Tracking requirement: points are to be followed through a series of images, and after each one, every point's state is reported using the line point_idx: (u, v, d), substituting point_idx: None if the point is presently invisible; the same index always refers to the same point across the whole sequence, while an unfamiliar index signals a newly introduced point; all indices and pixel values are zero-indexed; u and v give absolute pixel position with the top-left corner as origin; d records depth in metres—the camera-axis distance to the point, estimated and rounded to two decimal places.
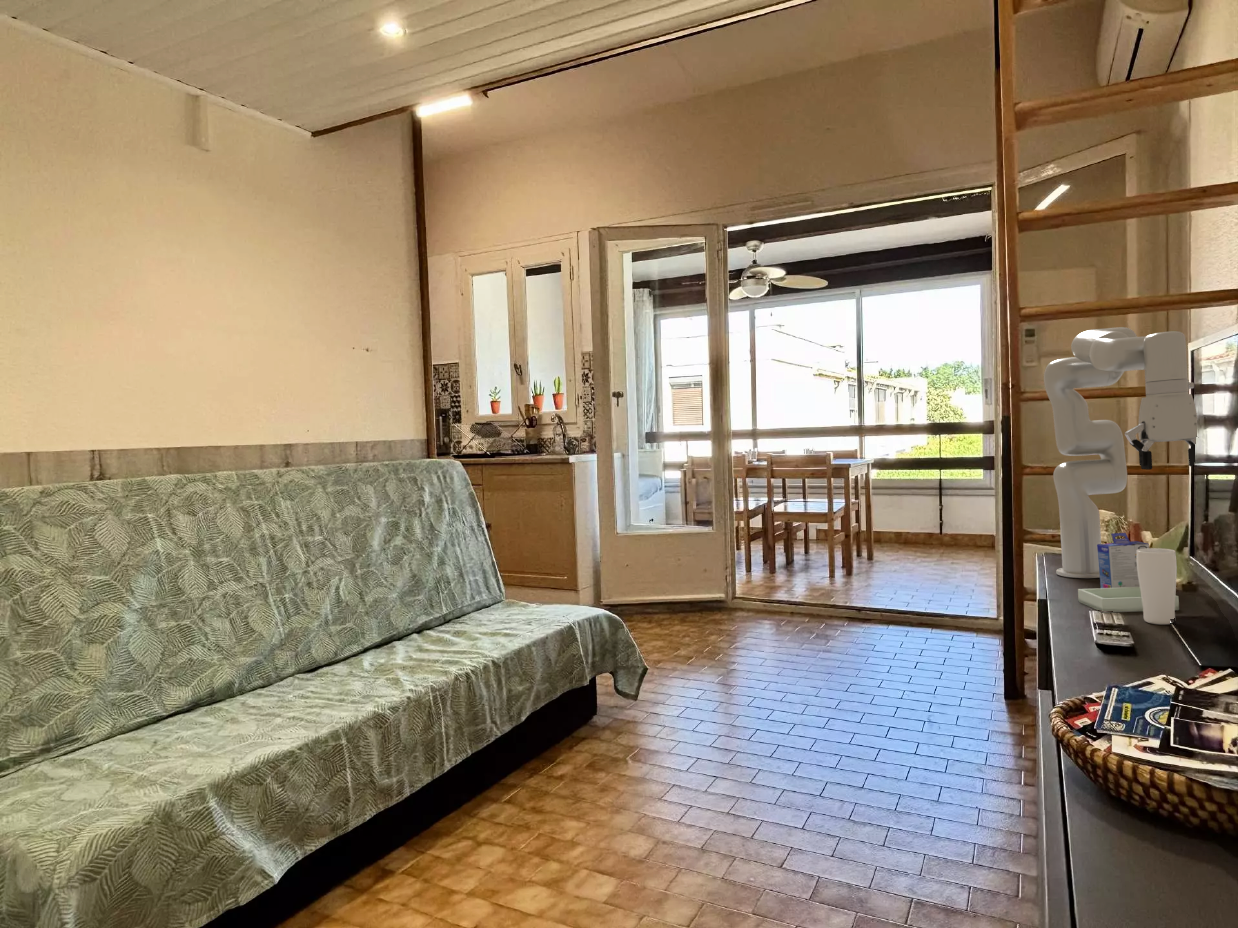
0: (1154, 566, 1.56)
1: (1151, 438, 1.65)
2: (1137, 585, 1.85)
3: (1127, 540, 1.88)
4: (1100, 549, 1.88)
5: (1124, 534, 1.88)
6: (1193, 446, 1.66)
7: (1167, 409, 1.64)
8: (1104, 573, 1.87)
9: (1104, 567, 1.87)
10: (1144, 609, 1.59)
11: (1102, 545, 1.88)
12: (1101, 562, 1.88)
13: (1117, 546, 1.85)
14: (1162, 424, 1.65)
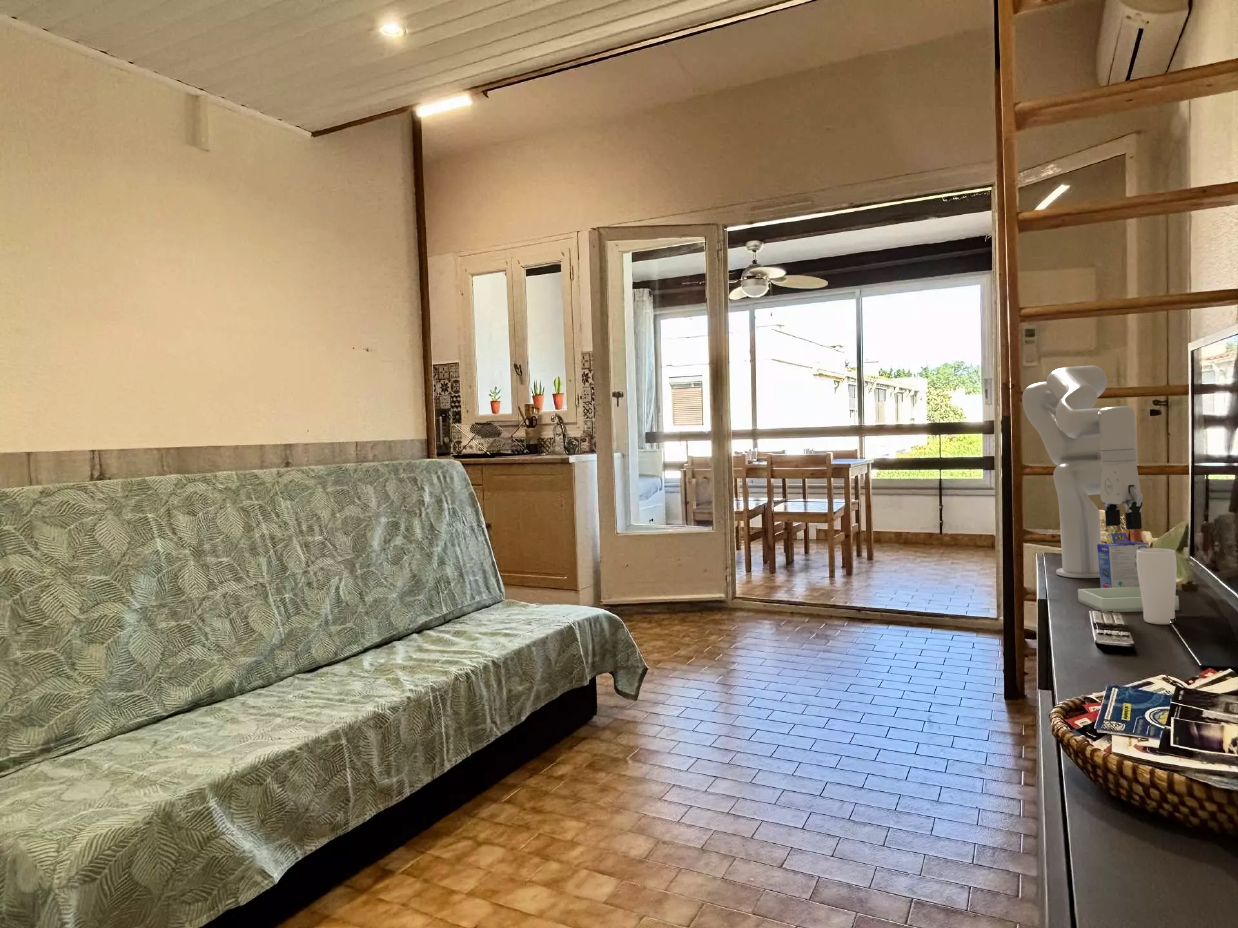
0: (1154, 566, 1.56)
1: None
2: (1137, 585, 1.85)
3: (1127, 540, 1.88)
4: (1100, 549, 1.88)
5: (1124, 534, 1.88)
6: (1113, 508, 1.91)
7: None
8: (1104, 573, 1.87)
9: (1104, 567, 1.87)
10: (1144, 609, 1.59)
11: (1102, 545, 1.88)
12: (1101, 562, 1.88)
13: (1117, 546, 1.85)
14: None
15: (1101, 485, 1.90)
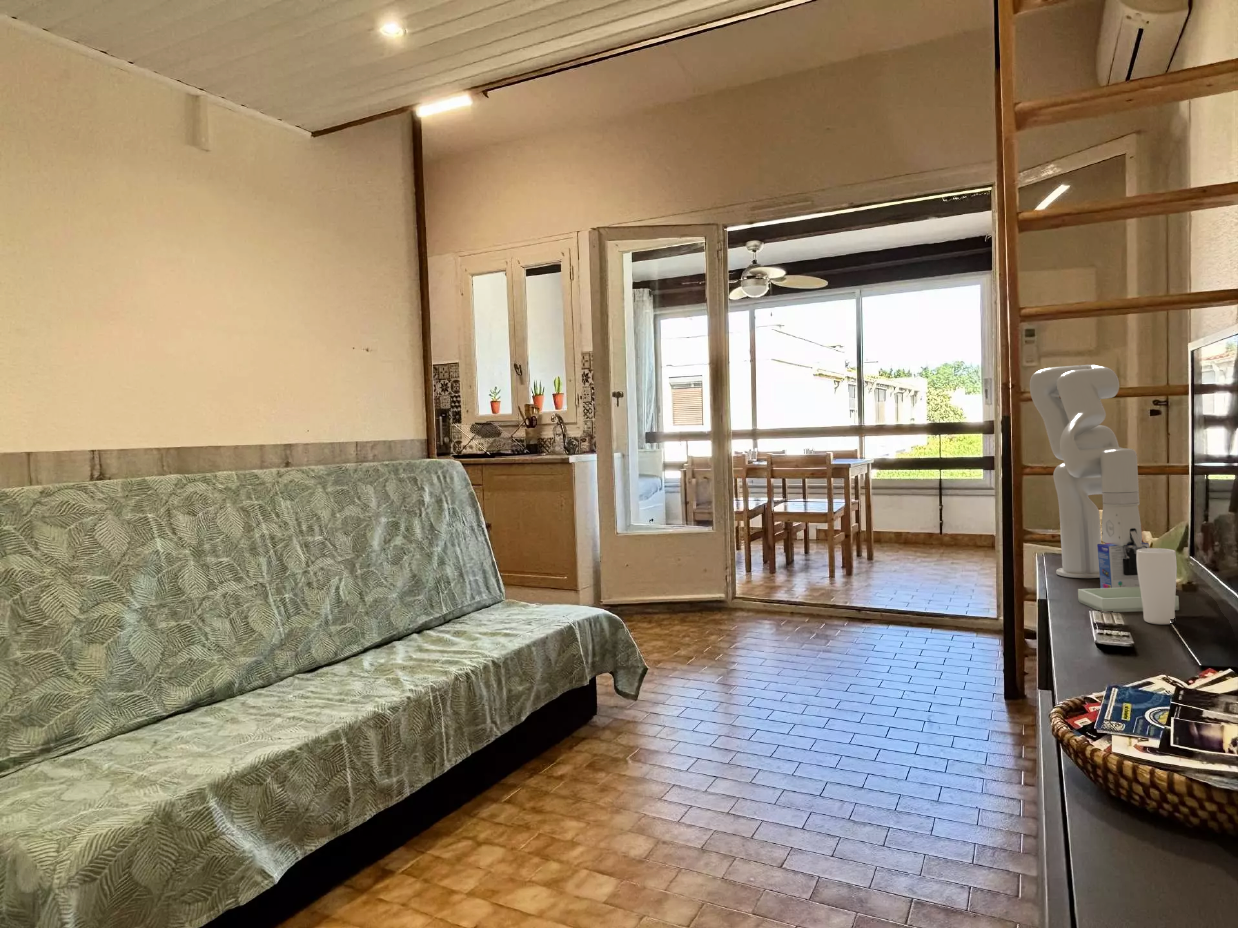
0: (1154, 566, 1.56)
1: None
2: (1137, 585, 1.85)
3: None
4: (1101, 549, 1.88)
5: None
6: None
7: None
8: (1104, 573, 1.87)
9: (1104, 567, 1.87)
10: (1144, 609, 1.59)
11: (1102, 545, 1.88)
12: (1101, 562, 1.88)
13: (1117, 546, 1.85)
14: None
15: (1103, 525, 1.91)
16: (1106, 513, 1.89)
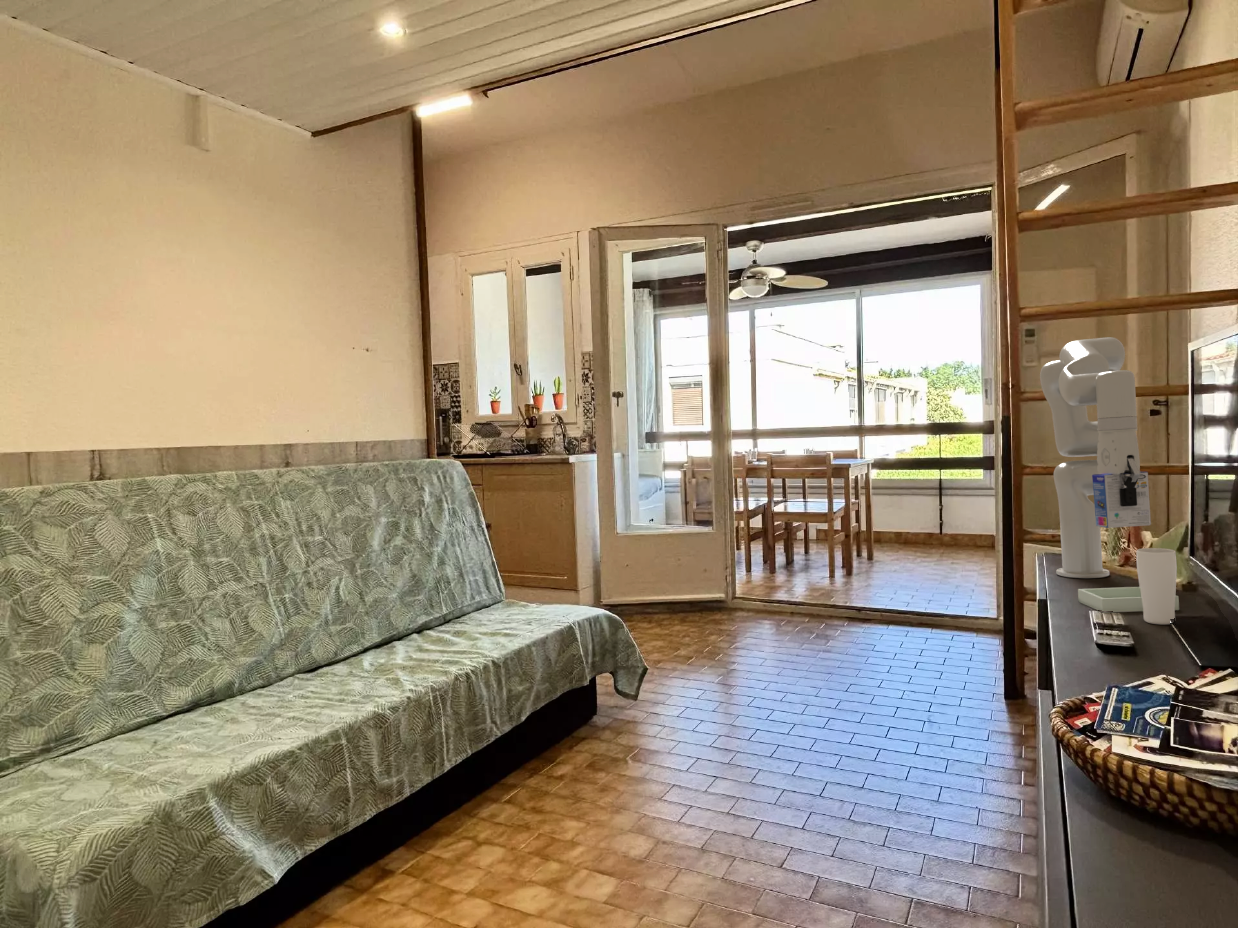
0: (1154, 566, 1.56)
1: (1139, 471, 1.69)
2: (1135, 517, 1.71)
3: None
4: (1096, 480, 1.75)
5: None
6: None
7: None
8: (1100, 505, 1.74)
9: (1099, 498, 1.74)
10: (1144, 609, 1.59)
11: (1097, 475, 1.74)
12: (1097, 494, 1.75)
13: (1113, 475, 1.71)
14: None
15: (1098, 455, 1.78)
16: (1102, 441, 1.75)
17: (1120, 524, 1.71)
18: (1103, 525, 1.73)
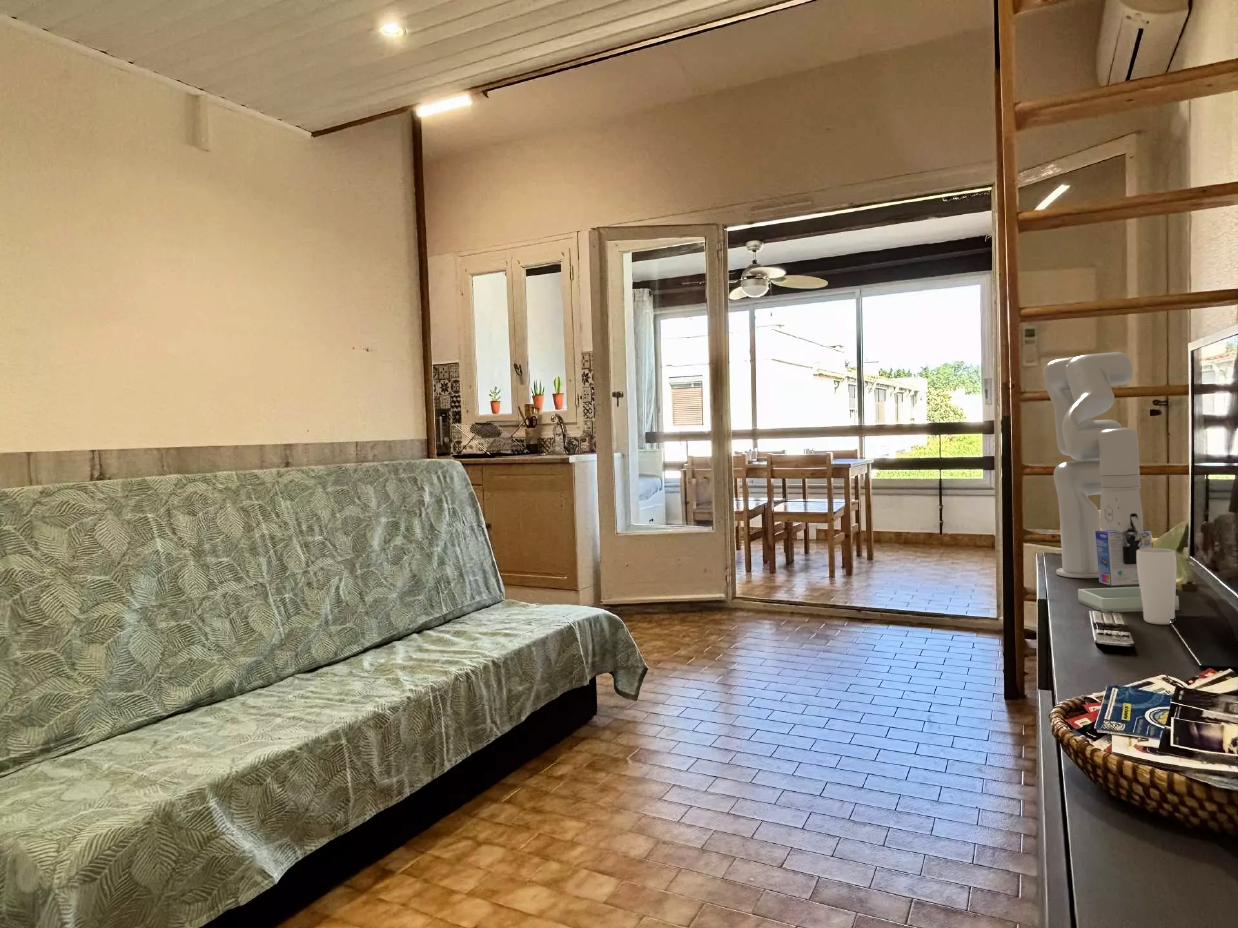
0: (1154, 566, 1.56)
1: None
2: None
3: None
4: (1099, 536, 1.75)
5: None
6: None
7: None
8: (1103, 562, 1.74)
9: (1103, 555, 1.74)
10: (1144, 609, 1.59)
11: (1101, 532, 1.75)
12: (1100, 550, 1.75)
13: None
14: None
15: (1101, 511, 1.78)
16: (1105, 498, 1.76)
17: (1123, 581, 1.72)
18: (1106, 582, 1.73)
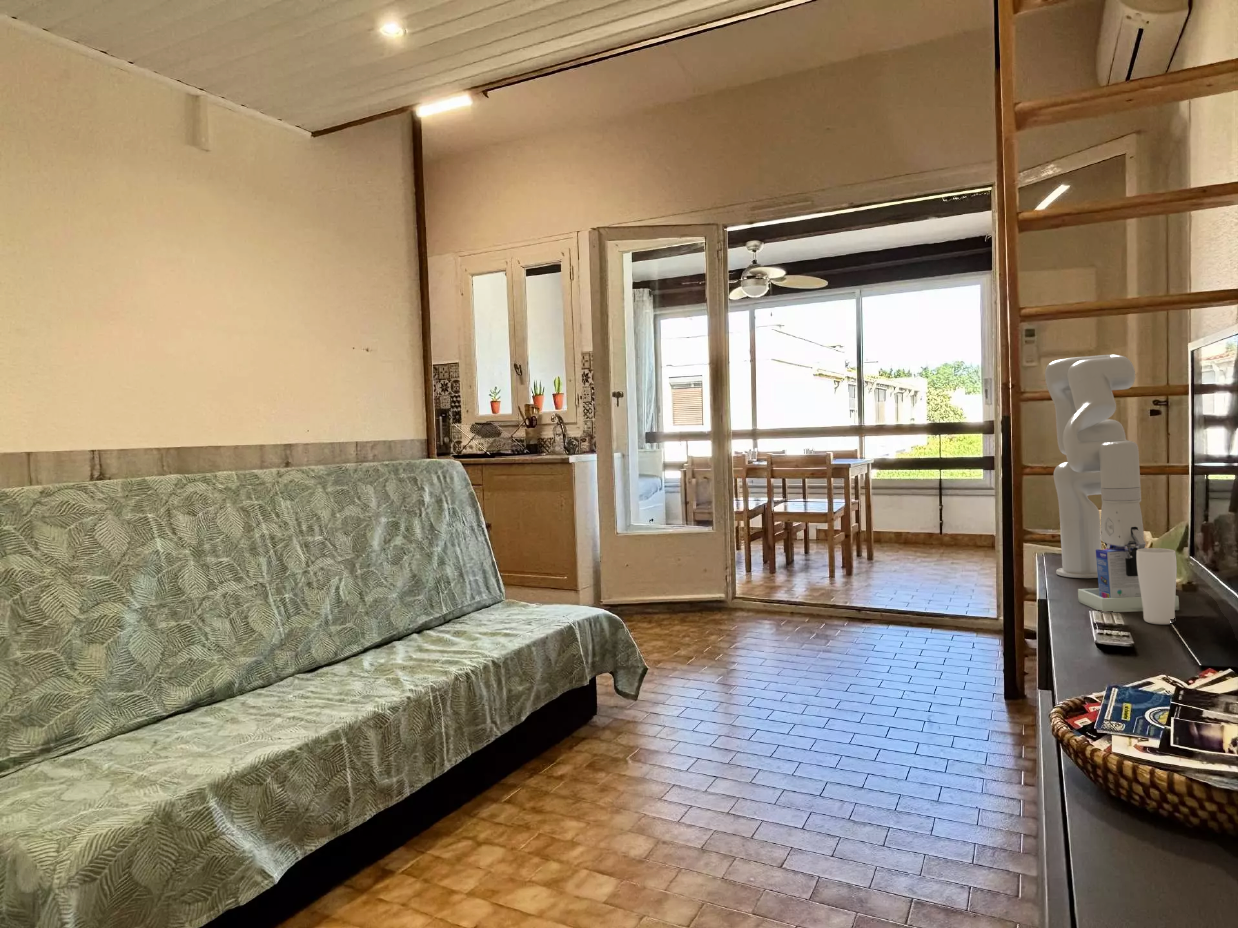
0: (1154, 566, 1.56)
1: None
2: (1138, 594, 1.72)
3: None
4: (1099, 555, 1.76)
5: None
6: None
7: None
8: (1103, 581, 1.75)
9: (1103, 574, 1.75)
10: (1144, 609, 1.59)
11: (1101, 551, 1.75)
12: (1100, 569, 1.76)
13: (1116, 551, 1.72)
14: None
15: (1102, 524, 1.78)
16: (1105, 510, 1.76)
17: None
18: None
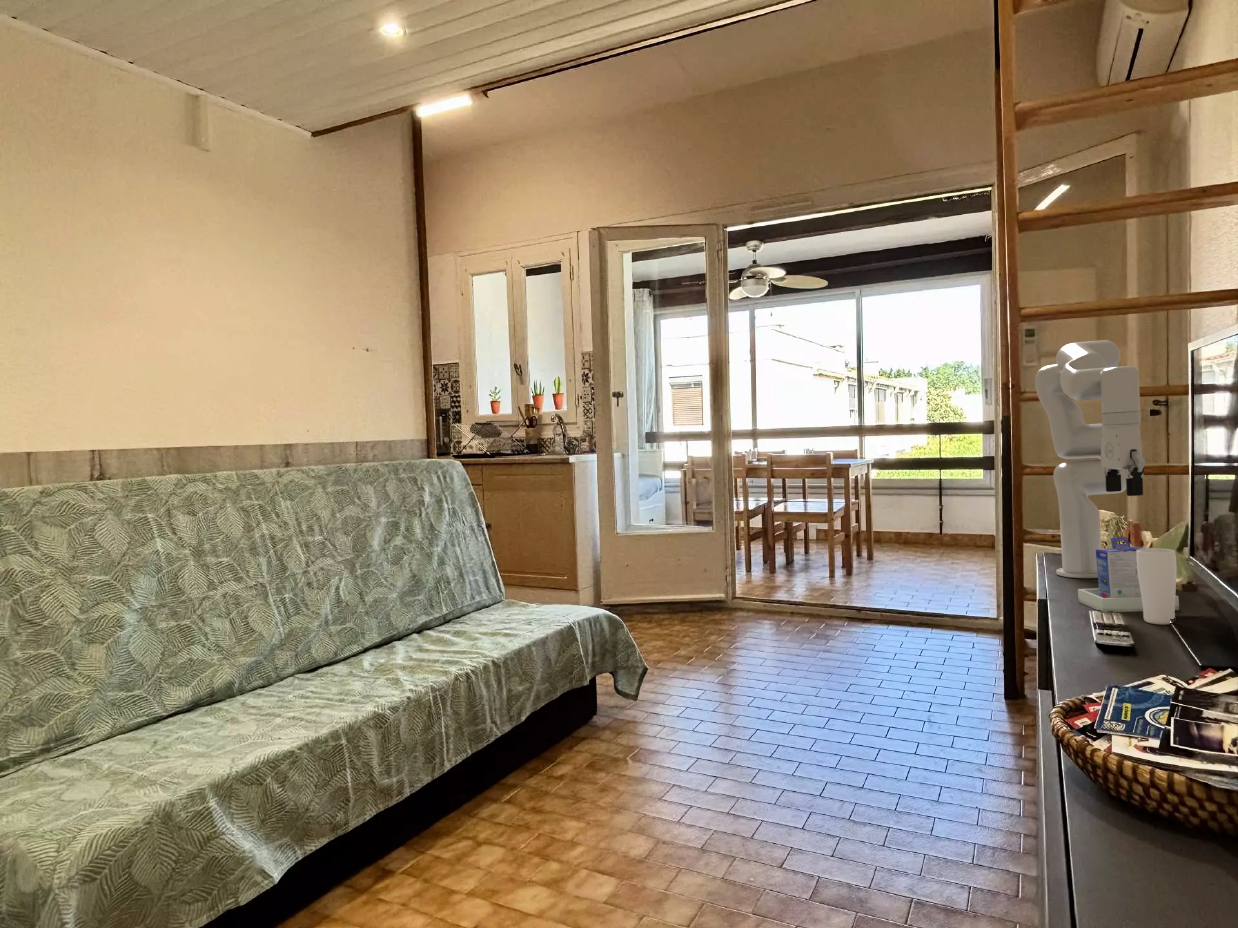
0: (1154, 566, 1.56)
1: None
2: (1138, 594, 1.72)
3: (1128, 545, 1.75)
4: (1099, 555, 1.76)
5: (1125, 539, 1.76)
6: (1114, 473, 1.83)
7: None
8: (1103, 581, 1.75)
9: (1103, 574, 1.75)
10: (1144, 609, 1.59)
11: (1100, 551, 1.75)
12: (1100, 569, 1.76)
13: (1116, 551, 1.72)
14: None
15: (1102, 449, 1.81)
16: (1105, 435, 1.79)
17: None
18: None
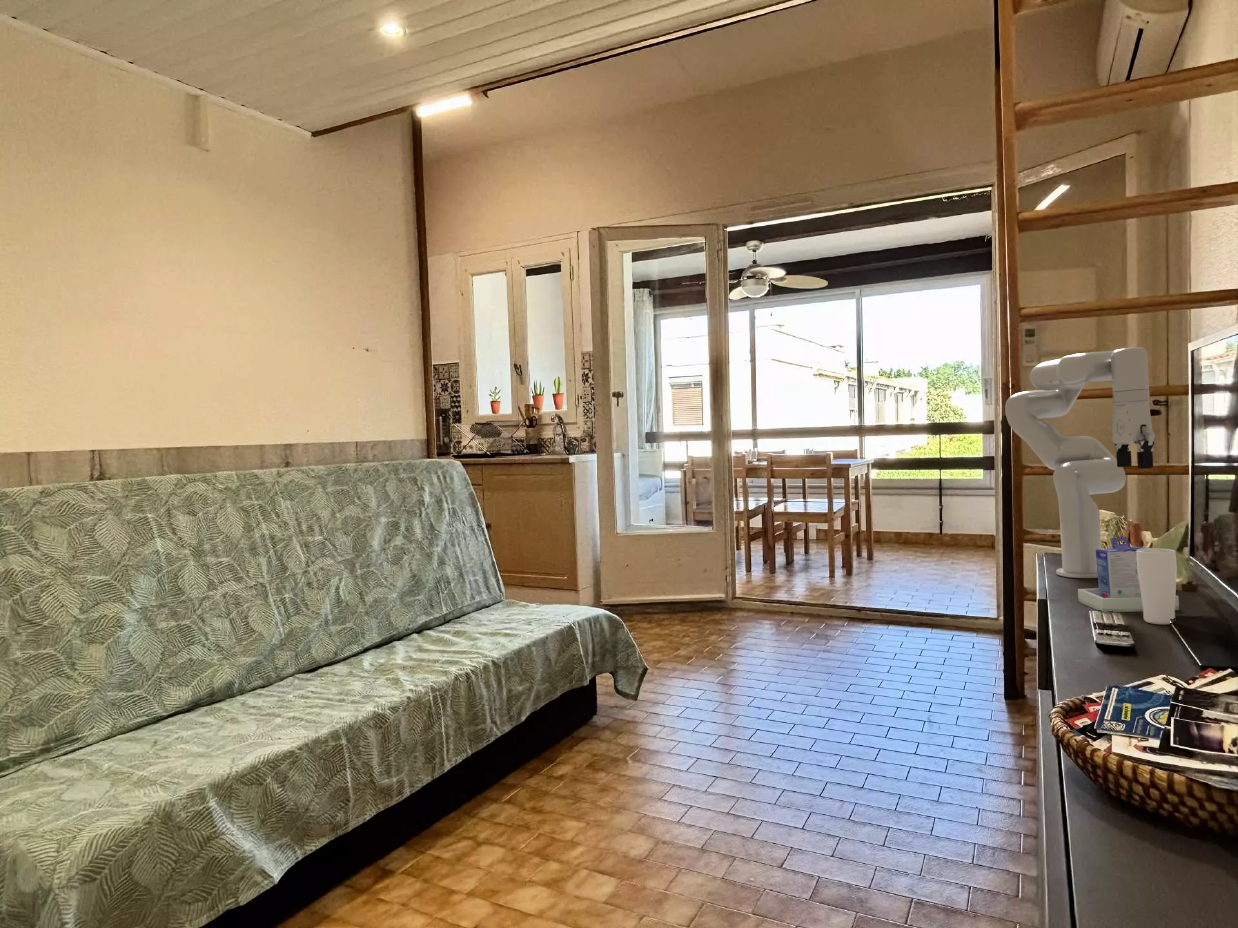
0: (1154, 566, 1.56)
1: None
2: (1138, 594, 1.72)
3: (1128, 545, 1.75)
4: (1099, 555, 1.76)
5: (1125, 539, 1.76)
6: (1124, 449, 1.94)
7: None
8: (1103, 581, 1.75)
9: (1103, 574, 1.75)
10: (1144, 609, 1.59)
11: (1100, 551, 1.75)
12: (1100, 569, 1.76)
13: (1116, 551, 1.72)
14: None
15: (1113, 426, 1.93)
16: (1116, 413, 1.91)
17: None
18: None
